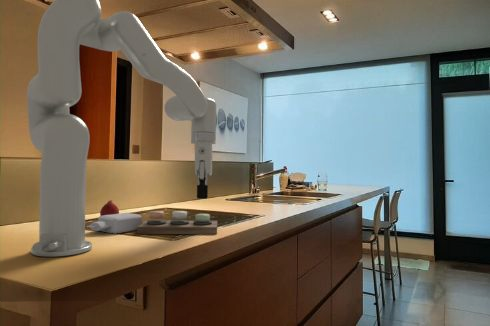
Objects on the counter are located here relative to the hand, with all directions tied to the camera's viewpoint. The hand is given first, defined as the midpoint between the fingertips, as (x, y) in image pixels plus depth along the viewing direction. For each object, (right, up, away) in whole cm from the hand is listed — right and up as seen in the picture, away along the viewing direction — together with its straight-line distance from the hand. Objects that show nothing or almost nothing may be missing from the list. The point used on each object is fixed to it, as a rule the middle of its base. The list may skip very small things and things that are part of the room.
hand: (202, 198), depth 113 cm
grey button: (-7, -6, 0) cm, 9 cm away
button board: (-7, -10, 0) cm, 12 cm away
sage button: (0, -7, 0) cm, 7 cm away
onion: (-32, -10, +8) cm, 34 cm away
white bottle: (-27, -10, -4) cm, 29 cm away
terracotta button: (-14, -6, -1) cm, 15 cm away
